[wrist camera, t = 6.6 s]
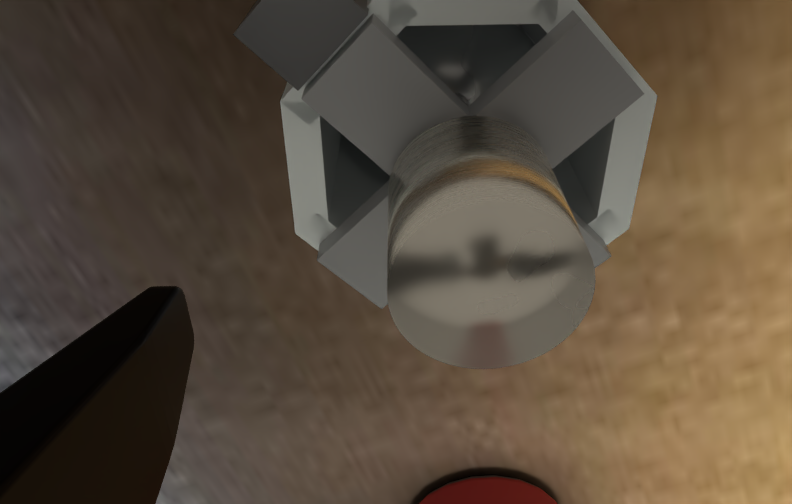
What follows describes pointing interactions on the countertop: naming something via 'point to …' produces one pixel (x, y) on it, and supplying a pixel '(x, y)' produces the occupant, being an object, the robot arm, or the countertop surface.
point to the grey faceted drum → (441, 113)
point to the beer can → (488, 492)
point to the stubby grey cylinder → (481, 220)
